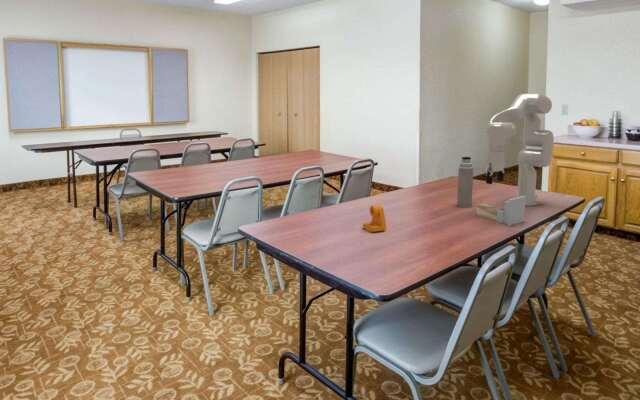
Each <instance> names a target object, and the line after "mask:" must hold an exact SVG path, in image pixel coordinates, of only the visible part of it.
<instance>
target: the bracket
mask: <svg viewBox="0 0 640 400" xmlns="http://www.w3.org/2000/svg"><path fill="white" fill-rule="evenodd" d="M369 214H370V216H371V221H364V222H362V227H363V228H364V230H366V231H367V232H368V233H375V232H382V231H387V222H386V217H385V211H384V207H383V205H382V204H376V205H374V204H373V205H371V206H370V207H369Z"/></svg>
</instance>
